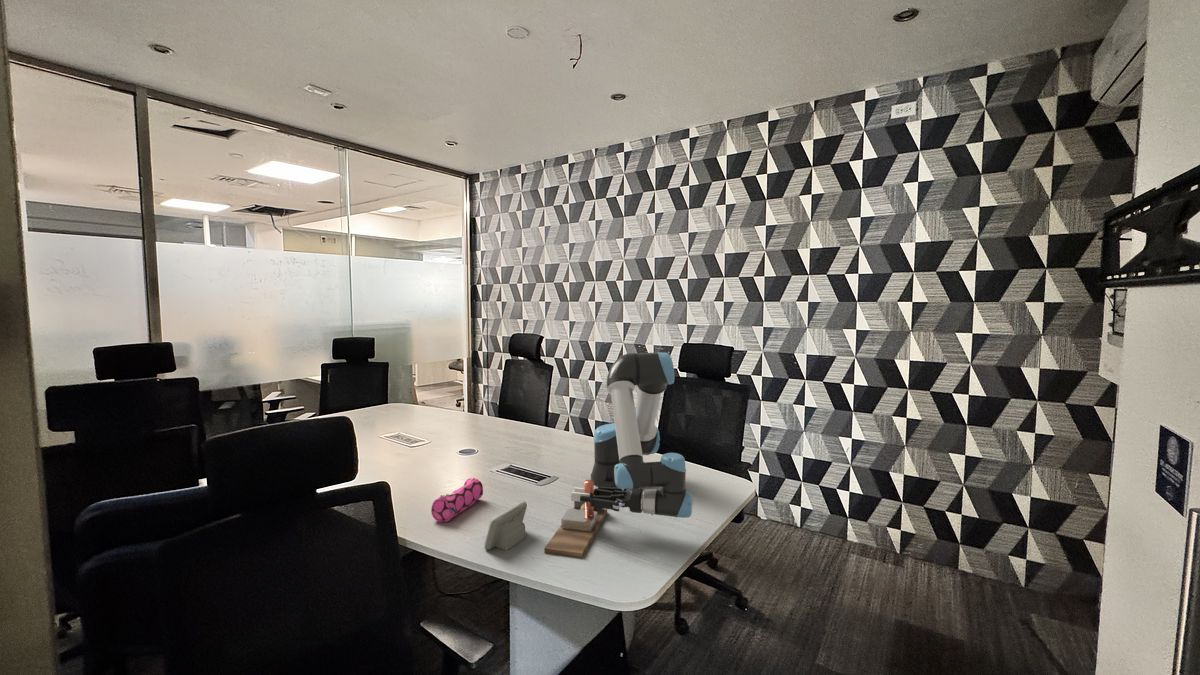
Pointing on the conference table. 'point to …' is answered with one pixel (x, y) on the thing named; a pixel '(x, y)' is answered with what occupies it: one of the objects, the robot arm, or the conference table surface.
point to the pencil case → (457, 500)
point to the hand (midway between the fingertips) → (573, 493)
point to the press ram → (581, 514)
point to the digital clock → (507, 528)
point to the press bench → (574, 536)
